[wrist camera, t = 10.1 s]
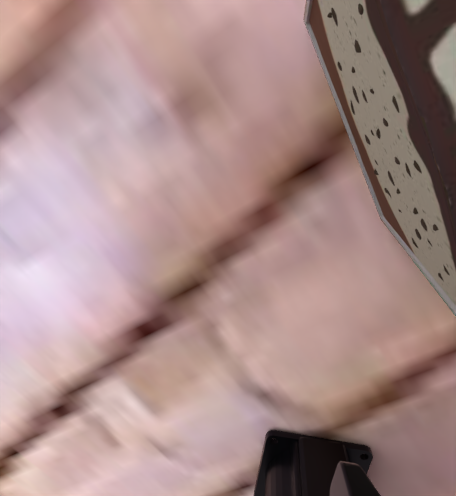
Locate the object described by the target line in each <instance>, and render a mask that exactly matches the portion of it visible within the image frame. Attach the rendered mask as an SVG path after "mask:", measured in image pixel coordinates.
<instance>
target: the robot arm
mask: <svg viewBox="0 0 456 496" xmlns="http://www.w3.org/2000/svg"><path fill="white" fill-rule="evenodd" d="M273 438H275V439H273ZM372 458H373V455H372V452H371V449H370V448H369V447H368V446H365V445H360V444H354V443H348V442H342V441H336V440H330V439H324V438H318V437H312V436H306V435H301V434H295V433H289V432H283V431H277V430H271V431H269V432H267V434H266V437H265V442H264V447H263V452H262V456H261V461H260V466H259V471H258V476H257V480H256V485H255V490H254V496H381V495H380V494H379V493H378V491H377V490H376V488H375V487H374V485H373V484H372V482H371V481H370V479H369V478H368V476H367V475H366V474H367V472H368V469H369V466H370V464H371V461H372Z"/></svg>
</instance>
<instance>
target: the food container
mask: <svg viewBox="0 0 456 496" xmlns="http://www.w3.org/2000/svg"><path fill="white" fill-rule="evenodd" d="M304 22H305V25H306V27H307V30H308V32H309V35H310V38H311V40H312V43H313V45H314V48H315V50H316V53H317V56H318V58H319V61H320V63H321V66H322V69H323V71H324V74H325V76H326V79H327V82H328V84H329V87H330V89H331V92H332V94H333V97H334V100H335V102H336V105H337V107H338V110H339V113H340V115H341V118H342V120H343V123H344V125H345V128H346V131H347V133H348V136H349V138H350V141H351V144H352V146H353V149H354V151H355V154H356V156H357V159H358V162H359V164H360V167H361V169H362V172H363V175H364V177H365V180H366V182H367V185H368V188H369V190H370V193H371V195H372V198H373V200H374V203H375V206H376V208H377V211H378V213H379V216H380V219H381V220H382V221H383V223H384V224H385V225H386V226H387V228H388V229H389V230H390V232H391V233H392V234H393V236H394V237H395V238H396V239H397V241H398V242H399V243H400V245H401V246H402V247H403V249H404V250H405V251H406V252H407V254H408V255H409V256H410V258H411V259H412V260H413V261H414V263H415V264H416V265H417V267H418V268H419V269H420V271H421V272H422V273H423V274H424V276H425V277H426V278H427V280H428V281H429V282H430V284H431V285H432V286H433V287H434V289H435V290H436V291H437V293H438V294H439V295H440V296H441V298H442V299H443V300H444V302H445V303H446V304H447V306H448V307H449V308H450V309H451V311H452V312H453V313H454V315H455V316H456V0H306V6H305V13H304Z"/></svg>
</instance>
